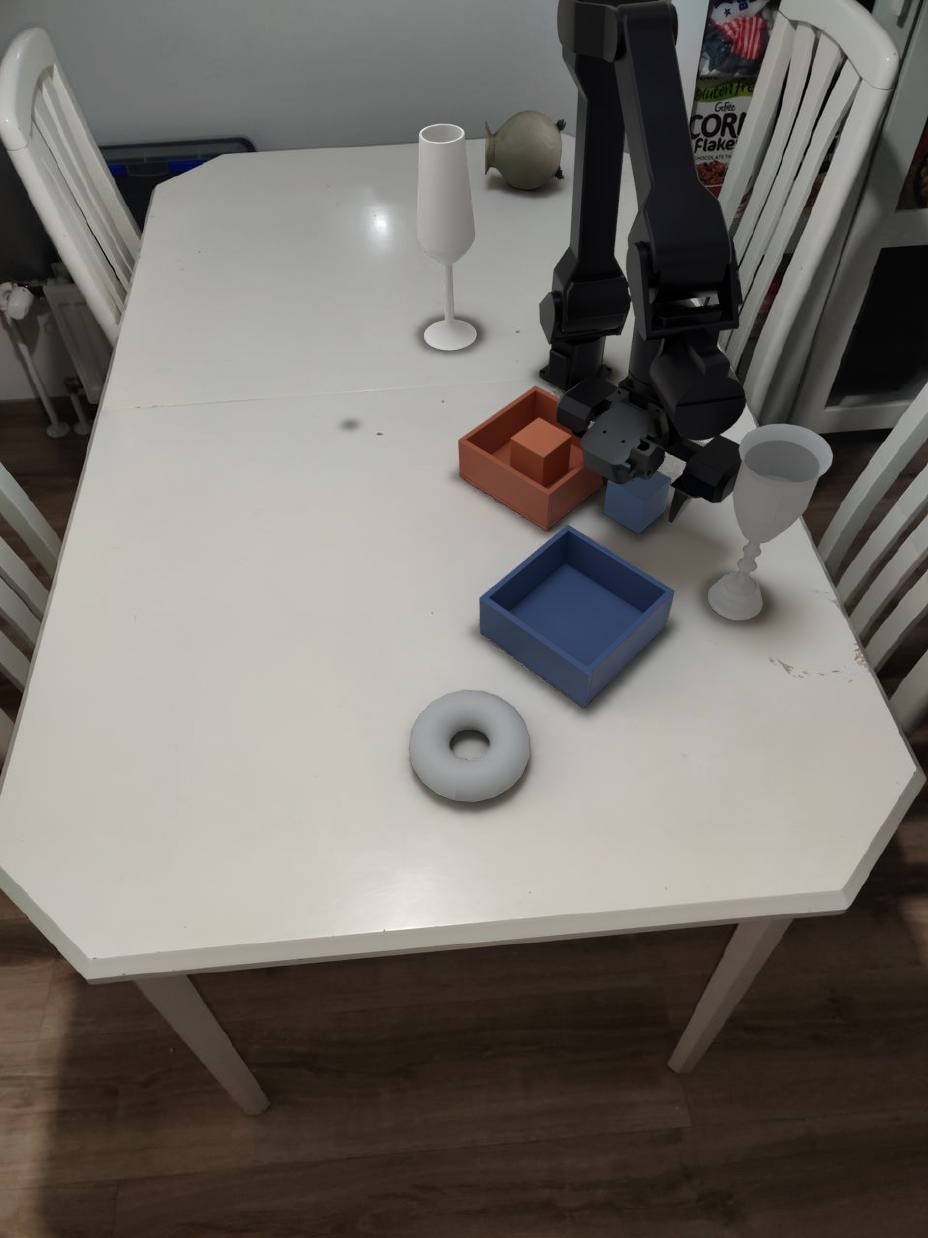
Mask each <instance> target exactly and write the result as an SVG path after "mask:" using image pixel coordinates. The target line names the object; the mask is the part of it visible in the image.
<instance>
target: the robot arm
mask: <svg viewBox="0 0 928 1238" xmlns="http://www.w3.org/2000/svg"><path fill="white" fill-rule="evenodd" d="M672 1H673V0H558V4H557V11H556V28H557V38H558V41H559V43H560V45H561V54H562V55H561V57H562V60H563V63H564V64H565V66H566V68H567V70H568V73H569V74H570V76H571V78H572V80H573V83H574V84H575V86H576V89H577V101H576V103H577V104H576V121H575V124H576V125H575V140H574V141H575V142H574V143H575V144H574V157H573V159H574V160H573V178H572V194H571V195H572V199H571V213H570V232H569V233H570V234H569V245H568V247H567V249H566V250H565V252H564V253H563V254H562V256H561V257H560V259H559V260H558V262H557V264H556V265H555V266H554V268H553V271H552V281H551V291H549V292H547V294H546V295H545V296H544V297H543V299H542V300H541V301H540V302H539V304H538V307H539V308H538V310H539V324H540V326H541V329H542V331H543V334H544V336H545V339H546V341H547V343H548V345H549V346H550V349H549V355H548V364H547V365H546V366H544V367H543V368H541V369H540V370H539V372H538V376H539V377H540V378H542V379H544V380H545V381H548V382H549V383H552V384H553V385H555V386H556V387H559V388H561V389H563V390H564V391H566V392H564V393H563V394H561V395H560V397H558V398H559V400H558V402H557V406H556V422H557V423H559V424H561V425H563V426H564V427H566V428H568V429H570V430H572V434H573V435H574V436H575V437H577V438H579V439H581V440H580V446H581V450H582V454H583V458H584V462H585V465H586V467H587V468H588V469H589V470H591V471H595V472H597V473H598V474H600V475H601V476H602V479H603V482H604V484H603V486H604V488H606V489H607V483H608V480H610V481H611V482H613V483H615V484H625V483H627V482H629V481H630V480H631V481H634V480H635V479H636V478H642V479H644V480H649V479H650V478H651V477H652V476H653V475H654V473H655V472H656V471H659V469H660V467H662V465H663V464H664V462H665V460H666V454H668V455H670V456H672V457H674V458H676V459H678V460H680V461H682V462H684V463H685V466H684V468H683V470H682V472H681V474H680V475H679V476H678V477H677V478H676V479H674V480H673V481H671V483H670V488H672V489H674V490H673V495H672V498H671V501H670V507H669V510H668V516H667V517H668V519H667V521H668V523H670V524H673V523H674V522H676V521H677V520H678V518H679V517H680V516H681V515H682V514H683V512H684V511H685V510H686V509H687V507H688V505H689V504H690V503H691V502H692V501H693V499H696V500H698V499H703V500H705V501H707V502H708V503H710V504H721V503H722V502H723V501H725V500H726V498H728V497H729V496H730V495H732V494H733V490H734V486H735V483H736V480H737V476H738V473H739V469H740V466H741V463H742V460H741V456H740V452H739V447H740V443H738V442H736V441H734V440H732V439H729V438H728V437H725V436H724V435H722V434H724V433H726V432H727V431H729V430H730V429H731V428H732V427H733V426H734V425H735V424H737V422H738V421H739V419H740V418H741V416H742V415H743V414H744V411H745V409H746V405H747V398H746V391H745V389H744V387H743V384H741V382H740V381H739V378H738V377H737V376H736V375H735V373H734V371H733V370H732V368H731V361H730V360H729V358H728V357H727V355H726V354H725V353H724V351H721V349H720V348H719V347H718V345H719V337H720V333H721V332H725V331H732V330H733V331H735V330H738V329H739V328H740V310H739V308H740V307H741V306H743V304H744V298H743V292H742V285H741V277H740V270H739V264H738V257H737V250H736V247H735V242H734V239H733V236H732V235H731V233H730V232H729V230H728V226H727V222H726V218H725V214H724V211H723V207H722V204H721V202H720V200H719V199H718V198H717V197H716V196H715V194H713V193H712V192H711V190H709V189H708V188H707V187H706V186H705V184H704V183H703V182H702V181H701V179H700V176H699V172H698V168H697V163H696V157H695V151H694V146H693V140H692V135H691V129H690V122H689V117H688V111H687V105H686V98H685V94H684V87H683V82H682V76H681V69H680V64H679V59H678V58H679V57H678V53H677V47H676V46H677V43H678V37H679V15H678V12H677V8H676V6H675V5H674V4H673V3H672ZM626 141H627V147H628V152H629V154H628V155H629V159H630V164H631V170H632V176H633V183H634V188H635V195H636V203H637V212H636V214H635V217H634V220H633V222H632V225H631V228H630V230H629V232H628V236H627V250H626V257H625V273H624V271H623V269H622V268H621V266H620V264H619V262H618V260H617V257H616V256H615V253H616V252H615V251H616V250H615V249H616V239H617V230H618V216H619V207H620V198H621V197H620V195H621V187H622V174H623V163H624V154H625V143H626ZM625 274H626V276H625ZM715 295H717V300H718V303H713V304H706V305H705V304H704V305H698V306H697V305H696V304H695V303H694V302H693V299H701V298H710V297H714V296H715ZM631 305H632V311H633V315H634V324H633V332H632V339H631V347H630V353H629V361H628V362H629V363H628V371H627V376H626V377H624V378H622V380H620V381H619V382H618V384H617V385H616V384H614V383H612V382H610V381H608V380H606V379H608V378H609V377H610V376H611V375H613V371H614V369H613V368H612V366H609V365H607V364H606V363H604V357H605V350H606V349H605V348H606V340H607V337H611V336H612V337H613V336H616V337H617V336H618V337H619V336H622V334H623V331H624V328H625V325H626V323H627V319H628V316H629V313H630V310H631ZM707 440H709V441H708V442H706V443H704V442H702V441H707Z"/></svg>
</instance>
